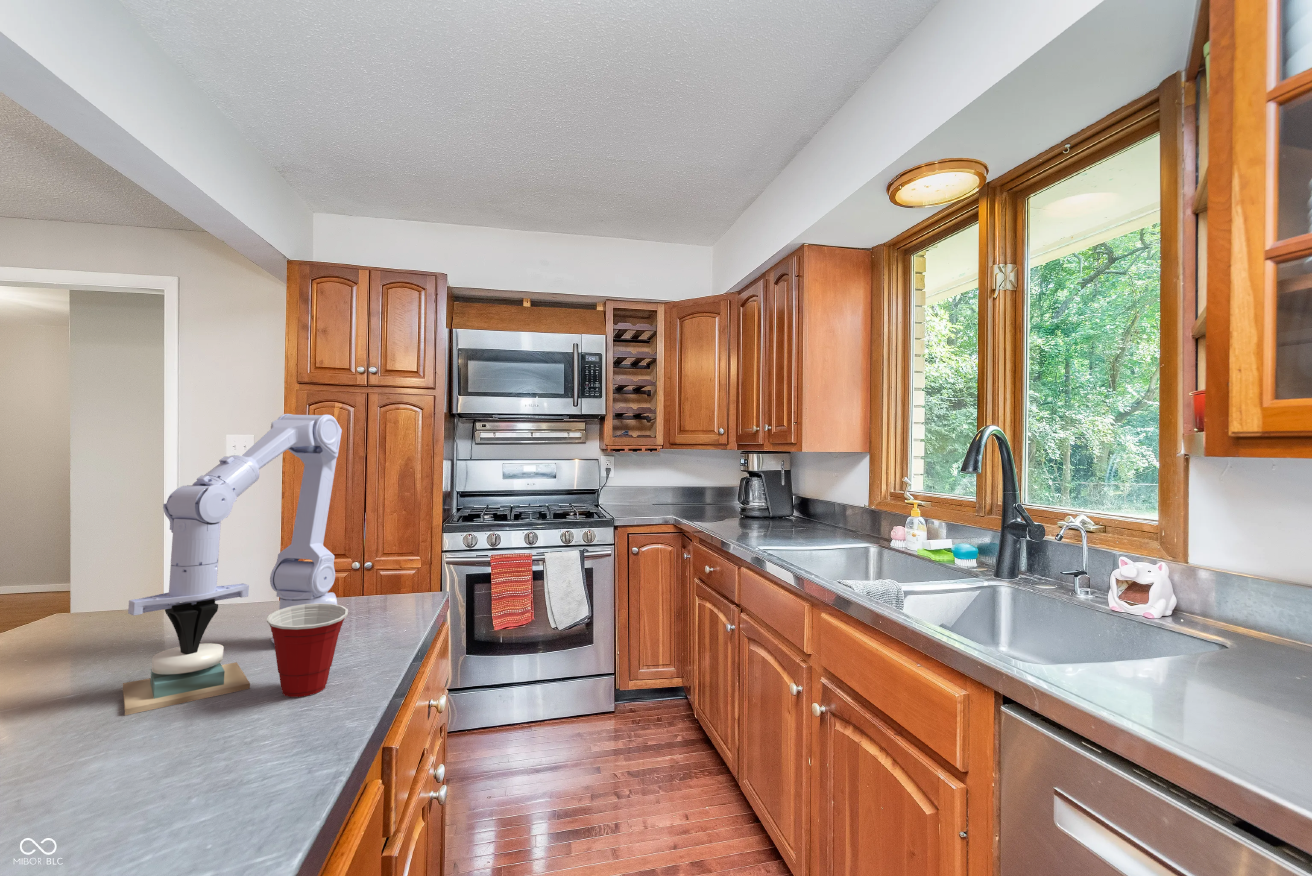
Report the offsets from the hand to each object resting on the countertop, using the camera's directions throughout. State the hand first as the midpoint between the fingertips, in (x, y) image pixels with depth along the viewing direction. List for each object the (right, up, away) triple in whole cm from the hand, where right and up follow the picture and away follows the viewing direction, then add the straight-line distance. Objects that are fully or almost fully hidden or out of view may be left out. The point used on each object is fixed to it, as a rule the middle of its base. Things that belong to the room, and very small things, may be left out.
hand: (188, 652), depth 86 cm
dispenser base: (0, -5, 0) cm, 5 cm away
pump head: (0, -4, 0) cm, 4 cm away
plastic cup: (+18, -6, 0) cm, 19 cm away
